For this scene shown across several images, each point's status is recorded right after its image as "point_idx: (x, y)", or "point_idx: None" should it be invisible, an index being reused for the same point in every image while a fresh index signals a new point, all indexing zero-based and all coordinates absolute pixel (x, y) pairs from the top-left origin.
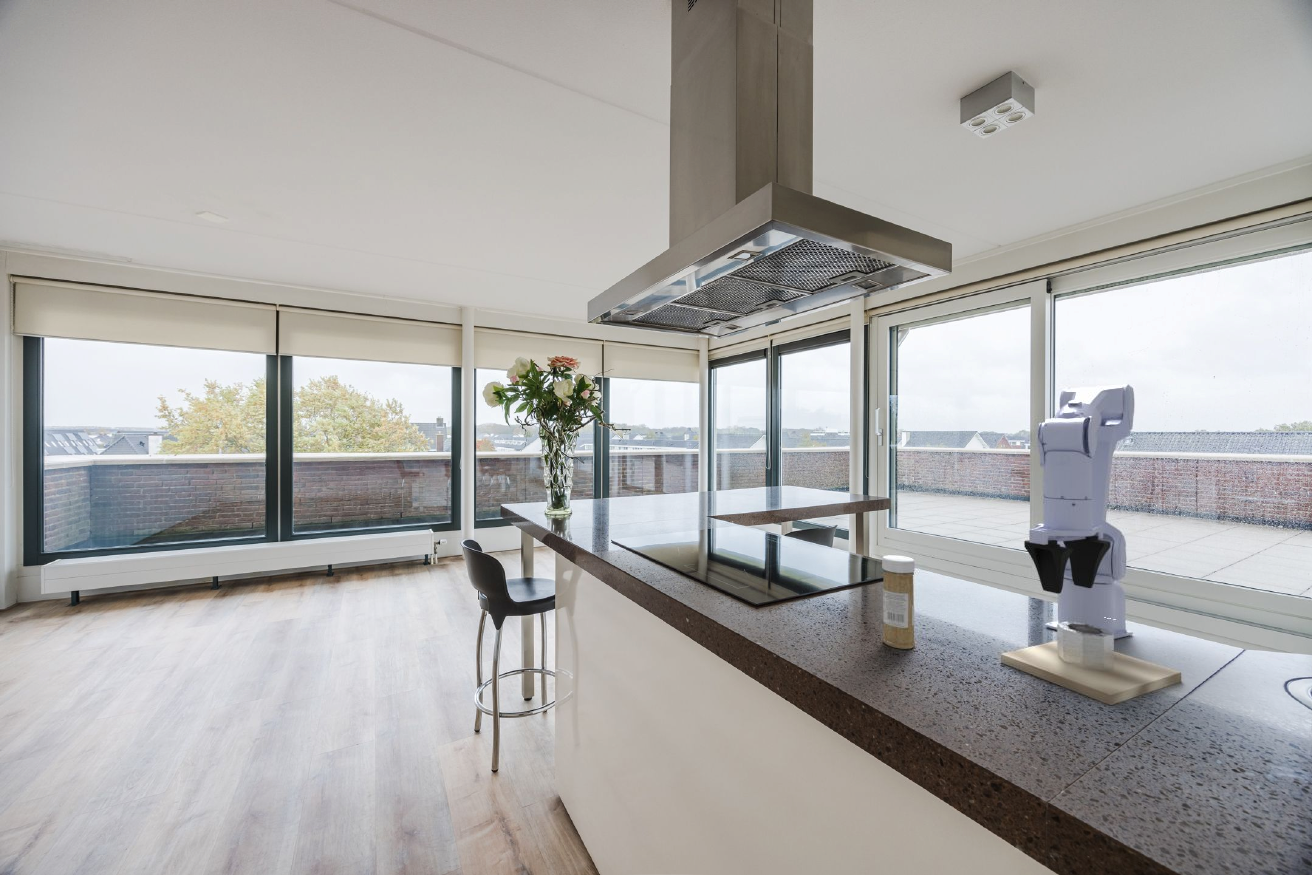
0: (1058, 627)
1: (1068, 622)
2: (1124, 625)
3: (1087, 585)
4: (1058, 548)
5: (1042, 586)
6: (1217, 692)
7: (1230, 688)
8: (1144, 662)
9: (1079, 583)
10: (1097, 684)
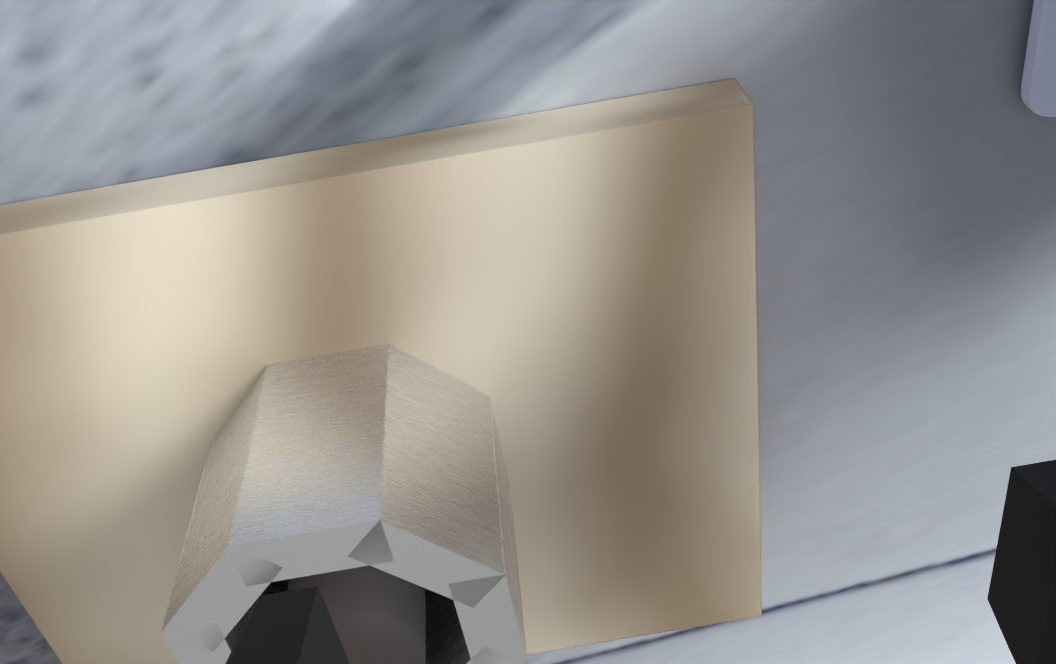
0: (219, 543)
1: (360, 542)
2: None
3: (1006, 611)
4: None
5: (243, 636)
6: (760, 655)
7: (872, 639)
8: (731, 515)
9: (1025, 543)
10: (140, 655)
